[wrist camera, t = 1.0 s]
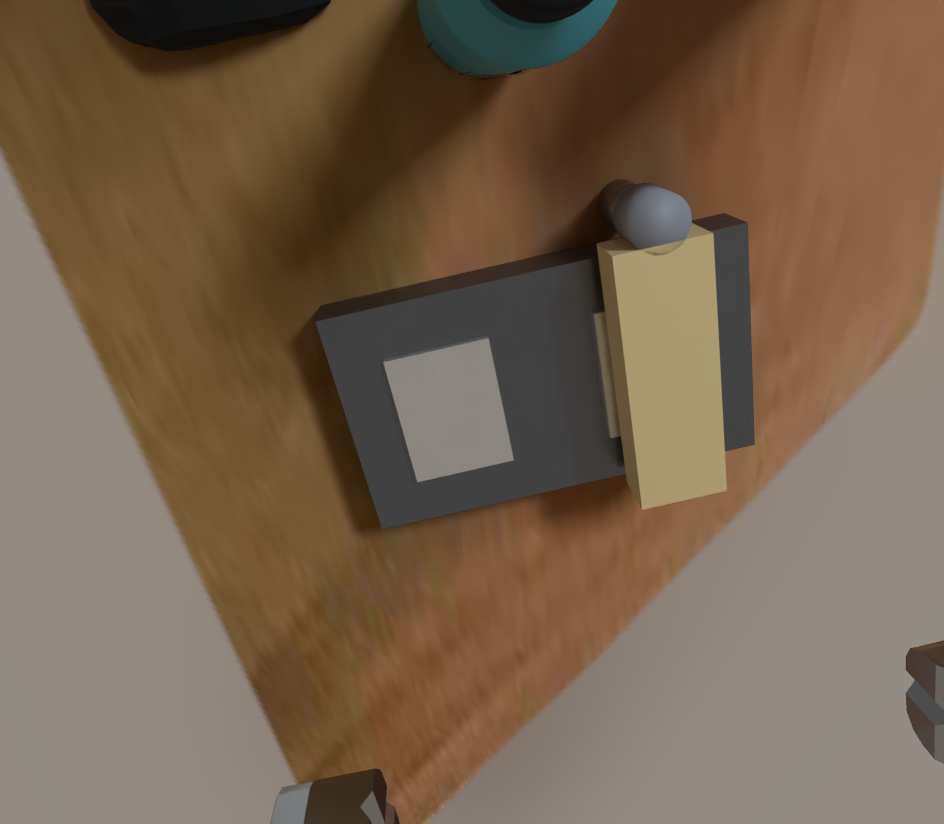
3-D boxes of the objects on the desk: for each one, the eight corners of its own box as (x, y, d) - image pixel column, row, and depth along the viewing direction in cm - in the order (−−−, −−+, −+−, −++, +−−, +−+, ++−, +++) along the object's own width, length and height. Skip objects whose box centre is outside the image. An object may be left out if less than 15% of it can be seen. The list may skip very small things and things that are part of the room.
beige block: (590, 194, 35) (606, 204, 33) (686, 172, 35) (710, 180, 33) (626, 482, 43) (642, 509, 40) (706, 464, 43) (726, 490, 40)
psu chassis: (304, 251, 39) (295, 266, 36) (721, 155, 39) (750, 162, 36) (383, 503, 47) (381, 533, 43) (733, 423, 46) (758, 448, 43)
